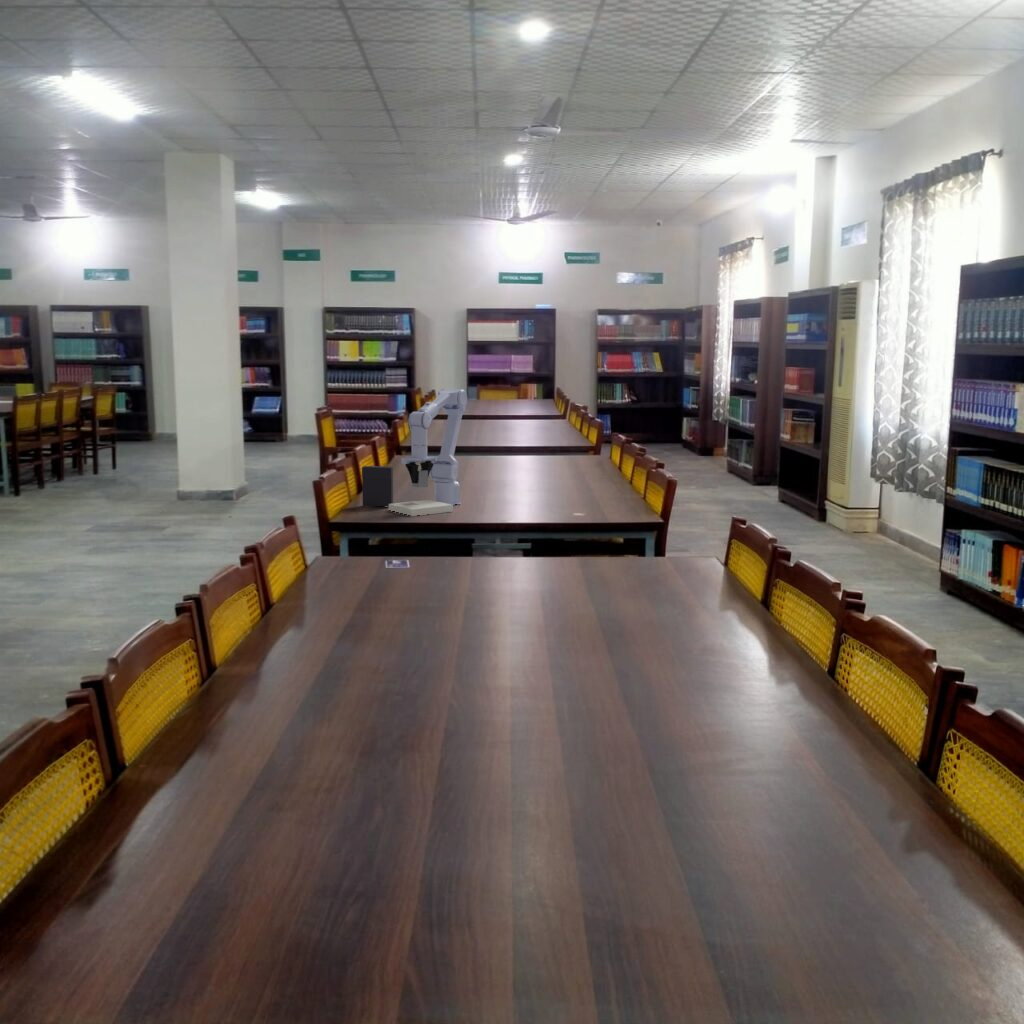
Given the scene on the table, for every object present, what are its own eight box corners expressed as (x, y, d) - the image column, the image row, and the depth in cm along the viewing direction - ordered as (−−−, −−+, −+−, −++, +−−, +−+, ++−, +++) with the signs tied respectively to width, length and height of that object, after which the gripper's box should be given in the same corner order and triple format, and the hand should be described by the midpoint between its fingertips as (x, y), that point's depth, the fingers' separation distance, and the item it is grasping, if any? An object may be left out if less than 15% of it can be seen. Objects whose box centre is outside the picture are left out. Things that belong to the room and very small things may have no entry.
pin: (421, 485, 354) (421, 468, 353) (427, 486, 351) (427, 470, 350) (412, 486, 351) (412, 469, 350) (418, 487, 348) (418, 471, 347)
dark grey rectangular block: (393, 506, 363) (393, 466, 361) (391, 507, 359) (390, 467, 357) (365, 505, 364) (364, 465, 362) (362, 506, 360) (361, 466, 358)
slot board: (429, 506, 364) (429, 499, 363) (453, 511, 352) (453, 504, 352) (388, 510, 352) (388, 503, 352) (411, 516, 341) (411, 509, 341)
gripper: (409, 447, 341) (409, 485, 343) (442, 445, 350) (442, 482, 353) (397, 445, 346) (397, 483, 349) (430, 443, 356) (430, 480, 358)
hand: (419, 482), depth 351 cm, fingers closed on pin, 4 cm apart
